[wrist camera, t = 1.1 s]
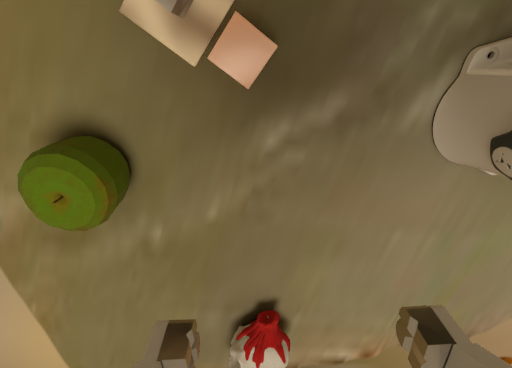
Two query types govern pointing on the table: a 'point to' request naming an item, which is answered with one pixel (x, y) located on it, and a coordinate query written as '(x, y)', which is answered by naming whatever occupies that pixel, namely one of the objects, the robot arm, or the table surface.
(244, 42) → the salmon orange block
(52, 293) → the table surface
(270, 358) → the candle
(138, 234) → the table surface
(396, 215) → the table surface
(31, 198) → the apple
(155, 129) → the table surface
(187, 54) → the post stand
